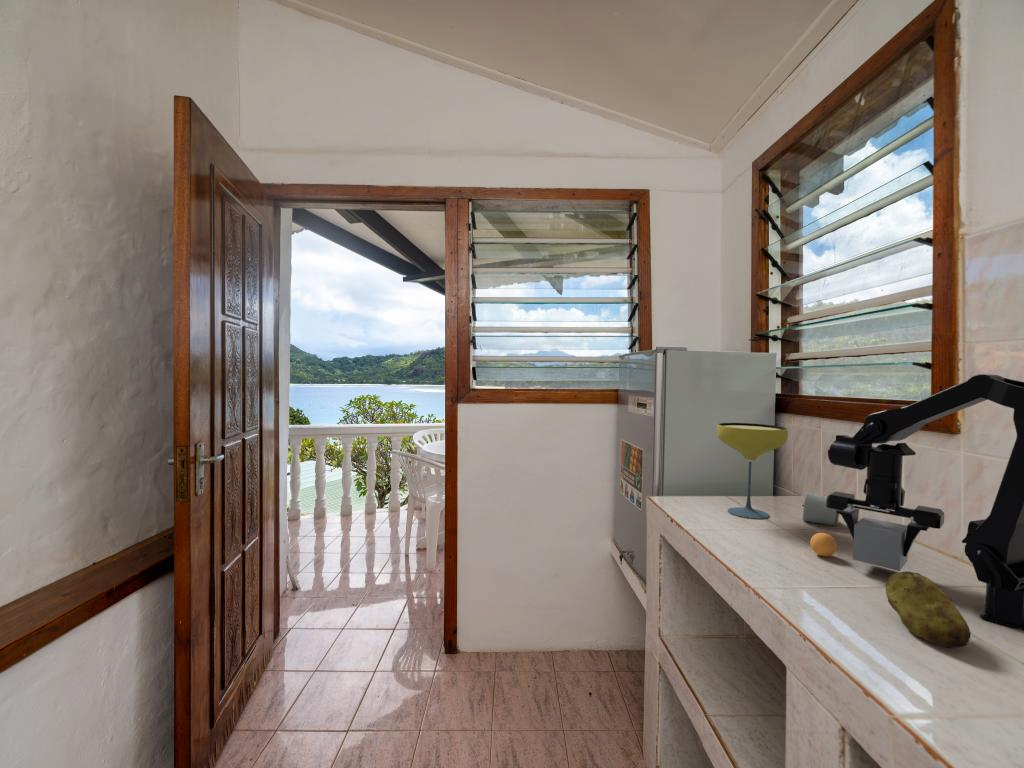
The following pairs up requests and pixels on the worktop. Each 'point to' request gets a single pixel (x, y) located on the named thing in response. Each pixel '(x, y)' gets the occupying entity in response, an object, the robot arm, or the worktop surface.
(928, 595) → the potato
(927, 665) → the worktop surface
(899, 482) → the robot arm
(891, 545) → the plain gray cube
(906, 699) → the worktop surface
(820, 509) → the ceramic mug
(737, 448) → the cocktail glass
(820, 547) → the ball
